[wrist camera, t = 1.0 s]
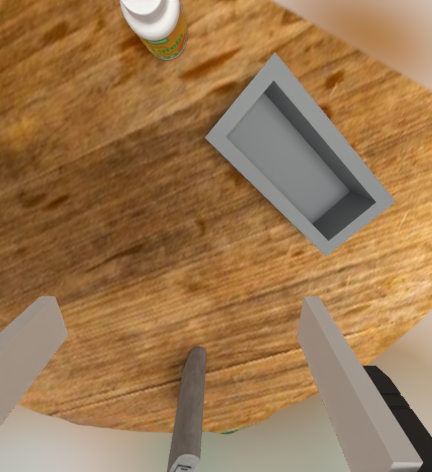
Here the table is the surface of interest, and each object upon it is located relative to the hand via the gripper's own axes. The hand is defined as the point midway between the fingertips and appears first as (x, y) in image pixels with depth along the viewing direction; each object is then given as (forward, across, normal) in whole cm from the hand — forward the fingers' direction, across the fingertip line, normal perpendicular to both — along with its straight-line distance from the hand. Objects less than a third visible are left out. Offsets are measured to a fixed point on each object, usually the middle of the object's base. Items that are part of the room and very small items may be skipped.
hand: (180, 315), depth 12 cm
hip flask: (+25, -4, -39) cm, 46 cm away
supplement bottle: (+25, -4, +20) cm, 32 cm away
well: (+24, +12, +5) cm, 28 cm away
